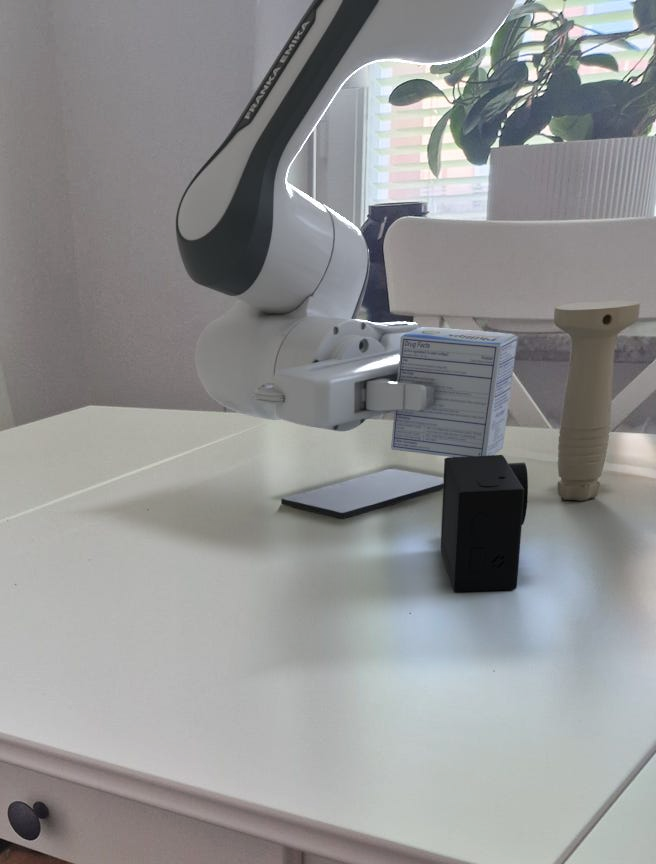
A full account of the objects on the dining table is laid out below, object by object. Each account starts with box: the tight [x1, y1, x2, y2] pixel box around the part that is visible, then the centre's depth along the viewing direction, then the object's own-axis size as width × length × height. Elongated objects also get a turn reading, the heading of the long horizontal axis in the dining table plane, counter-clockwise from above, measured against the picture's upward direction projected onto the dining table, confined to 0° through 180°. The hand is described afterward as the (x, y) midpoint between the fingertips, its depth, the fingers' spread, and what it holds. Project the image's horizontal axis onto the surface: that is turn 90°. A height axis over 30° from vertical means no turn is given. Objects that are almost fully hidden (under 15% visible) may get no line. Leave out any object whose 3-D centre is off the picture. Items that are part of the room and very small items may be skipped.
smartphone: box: [280, 467, 444, 520], centre depth 105 cm, size 14×8×1 cm, turn 127°
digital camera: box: [440, 454, 529, 593], centre depth 83 cm, size 10×5×7 cm, turn 174°
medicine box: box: [390, 326, 518, 458], centre depth 90 cm, size 8×4×9 cm, turn 59°
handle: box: [553, 299, 641, 502], centre depth 96 cm, size 5×6×15 cm
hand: (460, 389), depth 89 cm, fingers closed on medicine box, 5 cm apart
